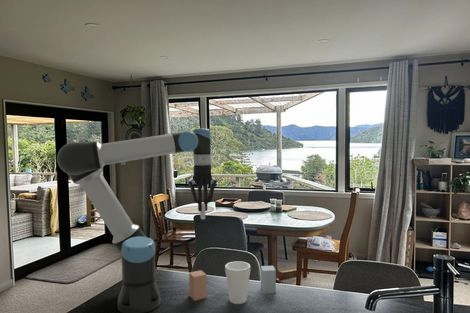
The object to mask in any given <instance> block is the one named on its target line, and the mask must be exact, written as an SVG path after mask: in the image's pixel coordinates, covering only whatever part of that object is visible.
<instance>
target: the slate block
mask: <svg viewBox="0 0 470 313" xmlns="http://www.w3.org/2000/svg"><path fill="white" fill-rule="evenodd" d="M276 272H277V271H276V268H275V266H274V265H261V266H260V289H261V291H262V294H276V293H277V286H276V284H277V281H276V279H277V278H276V277H277V276H276V275H277V274H276Z"/></svg>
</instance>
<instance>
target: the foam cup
mask: <svg viewBox="0 0 470 313" xmlns="http://www.w3.org/2000/svg"><path fill="white" fill-rule="evenodd" d="M224 271H225V272H224V273H225V276H226V282H227V283H226V284H227V291H228V297H229V302H230V303H231V304H234V305H242V304H244V303H246V302H247V299H248V291H249V285H250V284H249V283H250V276H251V275H250V274H251V264H250V263H249V262H245V261H242V260H241V261H240V260H239V261H236V260H235V261H230V262H227V263H226V264H225V265H224Z"/></svg>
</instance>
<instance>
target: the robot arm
mask: <svg viewBox="0 0 470 313" xmlns="http://www.w3.org/2000/svg"><path fill="white" fill-rule="evenodd" d="M211 135H212V134H211V130H210V129H209V128H193V131H189V130H186V131H181V132H167V133H165V134H160V135H153V136H146V137H141V138H133V139H127V140H119V141H113V142H111V141H110V142H106V143H100V142H99V141H91V142H77V141H74V142H69V143H66V144H64V145H63V146H62V147H61V148H60V149H59V151H58V153H57V156H56V161H57V165H58V166H59V168H60V170H62V172H64V173H66V174H67V175H68V177H69V178H70V180H71V181H72V182H73V184H75V185H79V186H81V189H82V190H83V191H84V193H85V194H86V196H87V198H88V199H89V201H90V202H91V204H92V205H93V207H94V208H95V210H96V211H97V214H99V217H100V218H101V219H102V221H103V222H104V224H105V226H106V227H107V228H108V231H110V233H111V235H112V236H113V237H112V241H111V242H112V244H113V246H114V247H115V248H116V250H117V252H118V254H119V255H120V259H121V274H122V275H121V276H122V277H121V278H122V279H121V280H122V281H121V283H122V286H121V288H120V292H119V296H118V298H117V310H118V311H119V312H120V313H147V312H151V311H153V310H155V309H156V308H158V307H159V306H160V304H161V300H162V299H161V293H160V290H159V287H158V285H157V282H156V245H155V244H156V243H155V241H154V240H153V238H150V237H147V236H146V235H145V233H144V231H143V230H142V228H141V226H139V225H138V224H135V223H133V221H132V220H131V218H130V217H129V215H128V213H127V212H126V211H125V208H124V207H123V206H122V204H121V202H120V201H119V199H118V198H117V196H116V195H115V192H114V191H113V190H112V188H111V187H110V185H109V183H108V181H107V180H106V179H105V177H104V175H103V173H102V172H103V168H104V167H105V166H106V165H107V166H108V165H113V164H120V163H124V162H126V163H127V162H130V161H131V162H132V161H136V160H142V159H148V158H154V157H160V156H166V155H171V154H179V153H185V152H187V153H189V152H193V153H192V154H193V174H192V179H190V180H188V181H187V184H188V186H189V188H190V191H191V196H192V199H193V202H194V203H195V204H197V211H198V212H199V213H200V219H201V220H206V212H207V211H208V204H209V203H211V202H212V200H213V196H214V192H215V187H216V184H217V183H218V180H217V179H215V178H213V176H212V165H211V163H212V157H211V156H212V154H211V153H212V152H211V151H212V147H211V146H212V145H211V144H212V142H211V141H212V136H211ZM195 184H196V187H197V193H196V189H195V188H196V187H195V186H194V185H195ZM209 184H210V187H209ZM208 187H209V188H208ZM202 189H203V190H202ZM208 189H209V190H208ZM202 194H203V195H202Z"/></svg>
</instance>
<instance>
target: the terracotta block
mask: <svg viewBox="0 0 470 313" xmlns="http://www.w3.org/2000/svg"><path fill="white" fill-rule="evenodd" d="M188 280H189V281H188V284H189V287H188V288H189V289H188V290H189V294H188V295H189V297H190V298H191V299H192V300H193V301H194V302H196V301H199V300H200V301H201V300H204V299H206V298H208V297H207V294H208V292H207V290H208V289H207V286H208V285H207V273H205V272H204V271H203V270H201V269H200V270H195V271H191V272H188Z"/></svg>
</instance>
